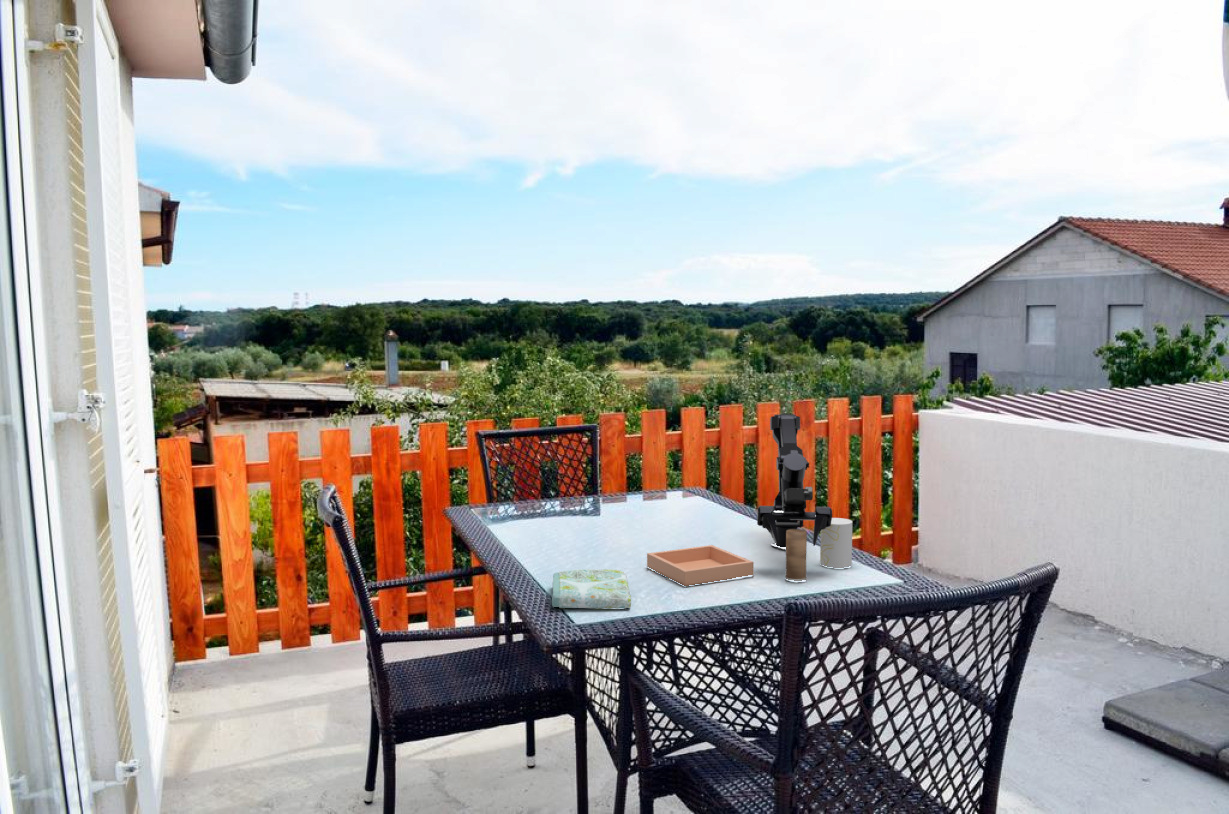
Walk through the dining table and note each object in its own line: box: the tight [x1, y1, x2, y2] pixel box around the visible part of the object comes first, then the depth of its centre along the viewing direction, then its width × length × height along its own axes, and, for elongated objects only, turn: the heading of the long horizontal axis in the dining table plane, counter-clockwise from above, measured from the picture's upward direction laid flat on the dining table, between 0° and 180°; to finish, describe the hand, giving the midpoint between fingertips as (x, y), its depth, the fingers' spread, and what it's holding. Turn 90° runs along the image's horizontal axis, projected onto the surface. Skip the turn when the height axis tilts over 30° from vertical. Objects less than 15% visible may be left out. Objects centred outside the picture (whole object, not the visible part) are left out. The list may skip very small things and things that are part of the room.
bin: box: [646, 544, 755, 586], centre depth 242 cm, size 20×20×4 cm
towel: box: [551, 568, 632, 609], centre depth 221 cm, size 18×21×5 cm
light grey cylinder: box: [819, 517, 853, 568], centre depth 248 cm, size 8×8×12 cm
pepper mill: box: [785, 528, 808, 581], centre depth 234 cm, size 5×5×12 cm
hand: (795, 544), depth 235 cm, fingers open, 9 cm apart
